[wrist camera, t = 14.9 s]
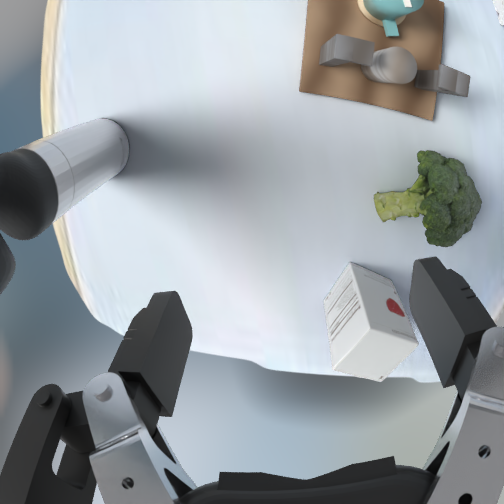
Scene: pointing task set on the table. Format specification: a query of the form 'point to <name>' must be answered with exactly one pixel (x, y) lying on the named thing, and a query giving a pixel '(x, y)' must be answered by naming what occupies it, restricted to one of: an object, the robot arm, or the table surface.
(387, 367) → the supplement box
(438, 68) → the board with gray uprights
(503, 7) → the food packaging
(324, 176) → the table surface
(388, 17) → the teal rounded body
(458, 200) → the vegetable
